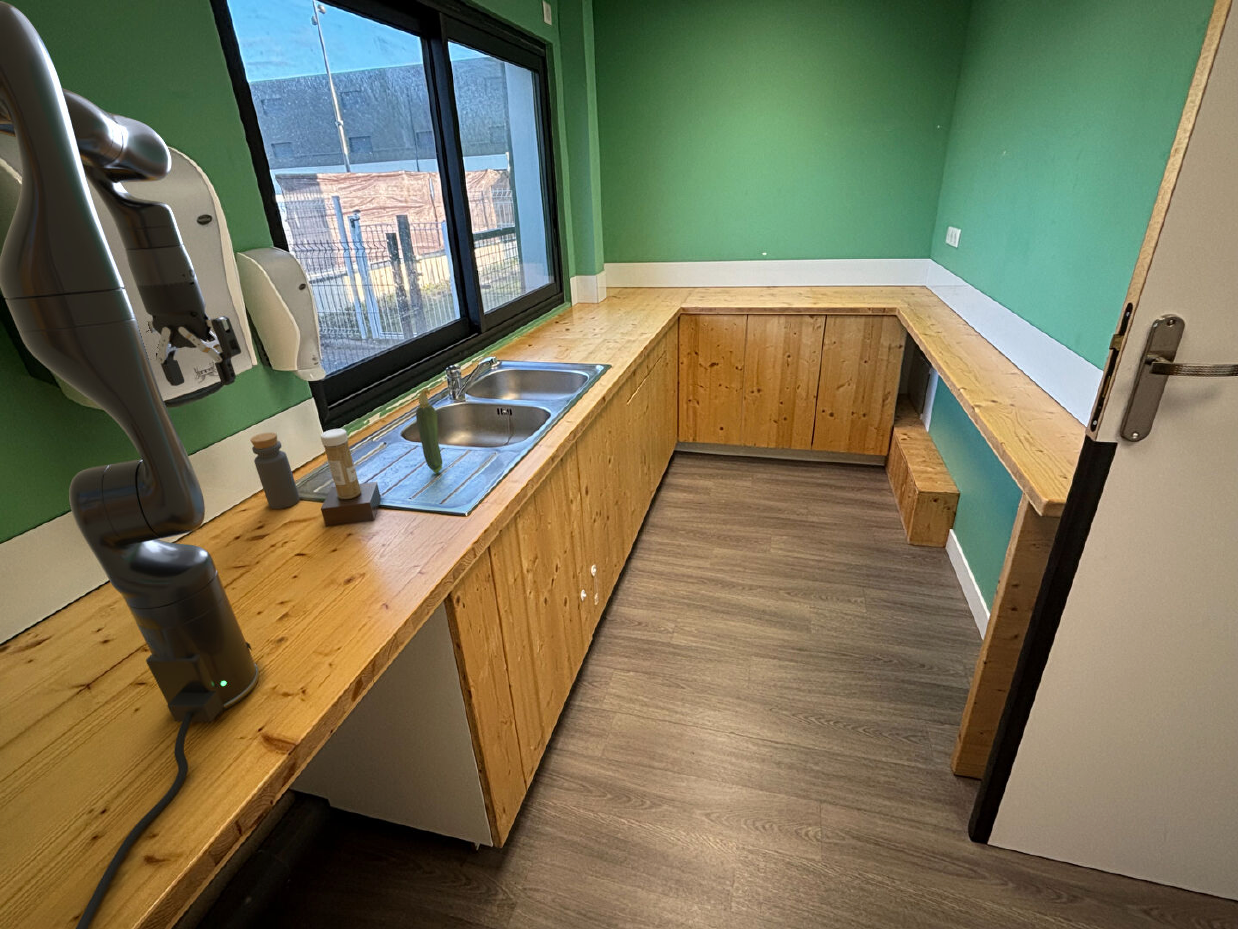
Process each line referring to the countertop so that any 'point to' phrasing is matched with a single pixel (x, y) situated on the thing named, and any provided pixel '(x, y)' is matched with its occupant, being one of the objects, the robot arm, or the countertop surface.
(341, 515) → the block
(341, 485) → the sprinkles bottle
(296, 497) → the bottle
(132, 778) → the countertop surface
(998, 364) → the countertop surface
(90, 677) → the countertop surface
